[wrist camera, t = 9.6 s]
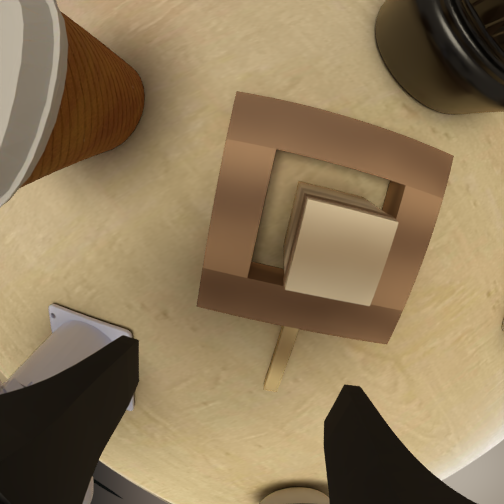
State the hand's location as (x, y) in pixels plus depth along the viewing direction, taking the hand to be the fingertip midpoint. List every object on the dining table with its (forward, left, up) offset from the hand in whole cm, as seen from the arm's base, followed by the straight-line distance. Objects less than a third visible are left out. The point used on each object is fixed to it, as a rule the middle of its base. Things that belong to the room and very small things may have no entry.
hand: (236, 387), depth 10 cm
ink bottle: (+17, -8, -11) cm, 22 cm away
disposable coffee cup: (+9, +12, -11) cm, 18 cm away
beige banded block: (+4, -3, -10) cm, 12 cm away
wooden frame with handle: (0, -3, -10) cm, 11 cm away
